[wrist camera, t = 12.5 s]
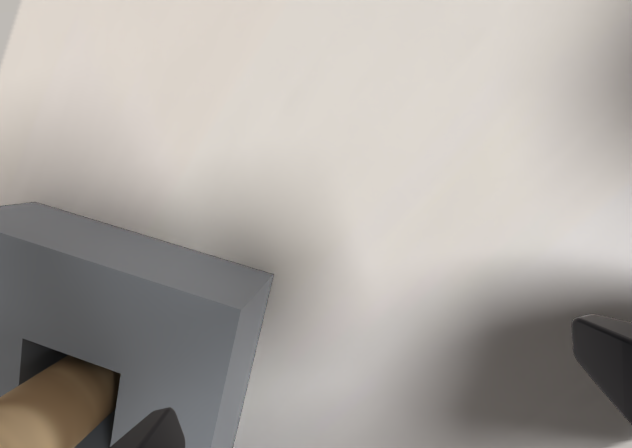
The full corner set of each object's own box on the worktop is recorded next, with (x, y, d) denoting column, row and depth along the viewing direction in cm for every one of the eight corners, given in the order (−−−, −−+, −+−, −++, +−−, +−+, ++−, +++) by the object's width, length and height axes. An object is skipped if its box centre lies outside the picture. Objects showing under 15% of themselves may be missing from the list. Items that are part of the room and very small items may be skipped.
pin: (129, 321, 21) (-232, 552, 9) (160, 378, 22) (-144, 680, 9) (81, 342, 22) (-310, 579, 10) (111, 397, 23) (-228, 696, 10)
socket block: (273, 274, 20) (241, 309, 15) (222, 493, 24) (181, 579, 19) (35, 201, 22) (-61, 213, 17) (18, 413, 25) (-66, 472, 21)
